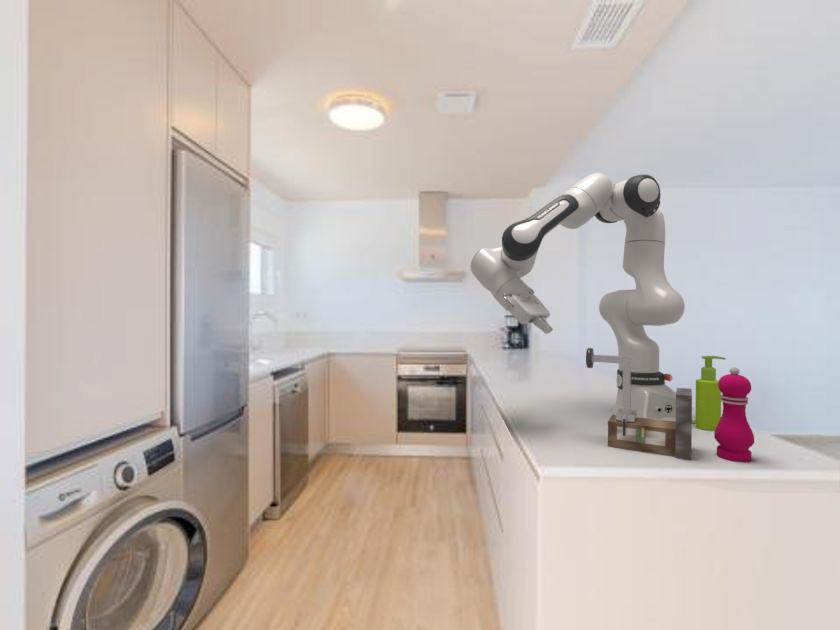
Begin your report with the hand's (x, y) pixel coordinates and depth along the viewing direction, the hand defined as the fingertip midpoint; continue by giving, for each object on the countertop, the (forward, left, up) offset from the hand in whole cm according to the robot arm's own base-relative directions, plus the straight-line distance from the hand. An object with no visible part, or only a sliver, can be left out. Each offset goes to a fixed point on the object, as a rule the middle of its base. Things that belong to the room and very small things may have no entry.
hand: (549, 331), depth 115 cm
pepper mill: (-36, +18, -27) cm, 48 cm away
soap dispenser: (-46, -6, -27) cm, 54 cm away
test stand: (-20, +12, -27) cm, 36 cm away
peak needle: (-17, +15, -23) cm, 33 cm away
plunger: (-13, +8, -24) cm, 28 cm away
